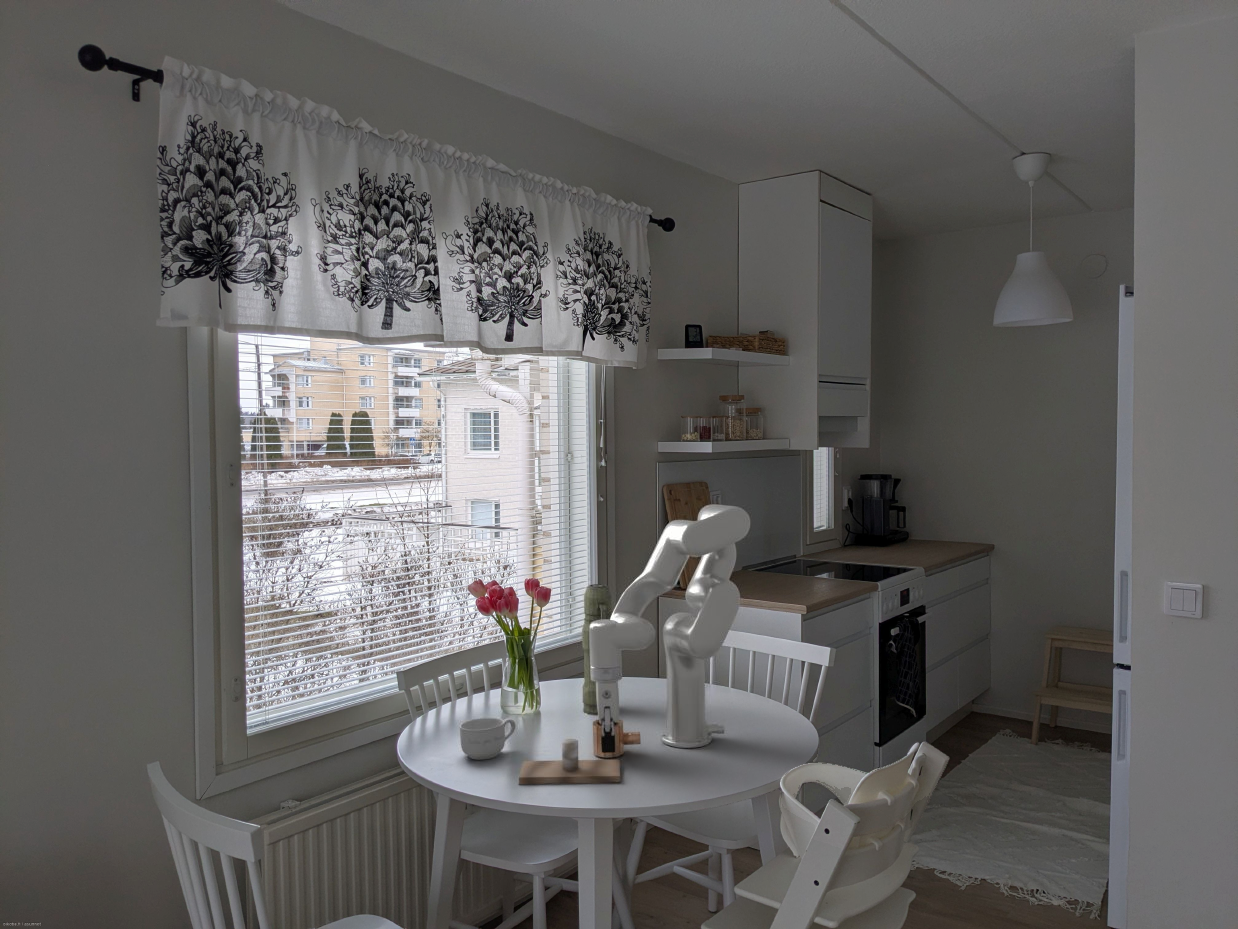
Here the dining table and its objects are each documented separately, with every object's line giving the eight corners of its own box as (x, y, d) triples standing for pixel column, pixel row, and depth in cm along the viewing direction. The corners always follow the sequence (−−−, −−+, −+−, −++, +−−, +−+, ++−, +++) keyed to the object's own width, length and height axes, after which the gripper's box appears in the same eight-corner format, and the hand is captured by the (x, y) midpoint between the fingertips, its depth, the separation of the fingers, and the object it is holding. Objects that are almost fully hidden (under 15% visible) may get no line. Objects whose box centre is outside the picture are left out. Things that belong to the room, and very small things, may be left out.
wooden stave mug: (594, 747, 209) (593, 718, 209) (640, 745, 210) (639, 716, 209) (593, 758, 202) (592, 728, 202) (641, 756, 202) (640, 726, 202)
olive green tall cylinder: (604, 703, 248) (603, 581, 247) (622, 714, 237) (620, 587, 237) (575, 707, 244) (574, 583, 244) (592, 718, 233) (591, 589, 233)
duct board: (619, 766, 198) (618, 733, 198) (620, 782, 188) (619, 748, 188) (523, 767, 197) (522, 735, 197) (518, 784, 187) (518, 750, 187)
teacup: (465, 766, 198) (465, 732, 198) (455, 752, 208) (454, 719, 208) (523, 757, 204) (523, 724, 204) (510, 743, 214) (510, 711, 214)
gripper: (622, 681, 197) (625, 759, 197) (621, 662, 214) (623, 733, 215) (589, 683, 197) (592, 760, 197) (590, 663, 214) (593, 734, 214)
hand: (608, 745), depth 206 cm, fingers closed on wooden stave mug, 7 cm apart
